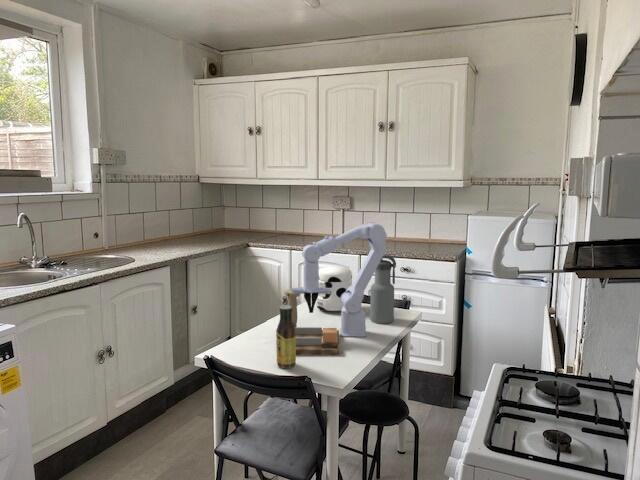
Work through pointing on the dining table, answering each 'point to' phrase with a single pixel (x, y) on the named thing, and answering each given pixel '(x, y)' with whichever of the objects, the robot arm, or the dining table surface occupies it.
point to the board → (318, 346)
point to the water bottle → (383, 292)
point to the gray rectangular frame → (308, 339)
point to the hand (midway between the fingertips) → (311, 312)
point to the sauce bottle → (286, 339)
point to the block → (329, 334)
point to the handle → (292, 304)
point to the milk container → (333, 287)
